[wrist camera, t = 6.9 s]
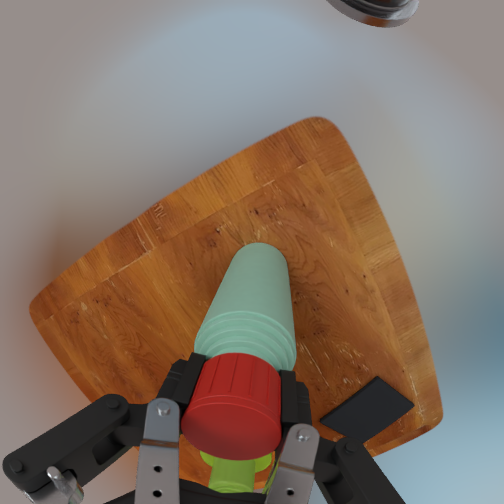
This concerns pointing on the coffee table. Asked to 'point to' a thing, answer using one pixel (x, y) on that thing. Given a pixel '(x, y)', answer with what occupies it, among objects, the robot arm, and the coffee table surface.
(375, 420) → the mat
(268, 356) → the bottle
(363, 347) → the coffee table surface
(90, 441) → the robot arm
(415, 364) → the coffee table surface
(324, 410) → the coffee table surface
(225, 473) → the soap dispenser
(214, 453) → the cap
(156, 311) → the coffee table surface
